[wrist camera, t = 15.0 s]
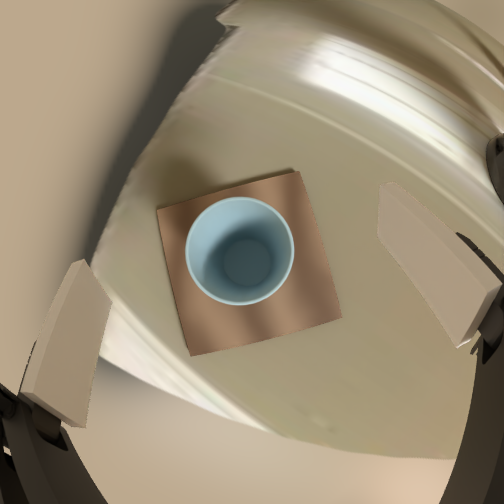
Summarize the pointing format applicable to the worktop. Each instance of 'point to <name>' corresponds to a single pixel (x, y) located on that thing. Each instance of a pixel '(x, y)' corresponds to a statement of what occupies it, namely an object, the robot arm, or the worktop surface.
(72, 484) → the robot arm
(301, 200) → the board
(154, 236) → the worktop surface
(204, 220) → the cup
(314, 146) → the worktop surface
